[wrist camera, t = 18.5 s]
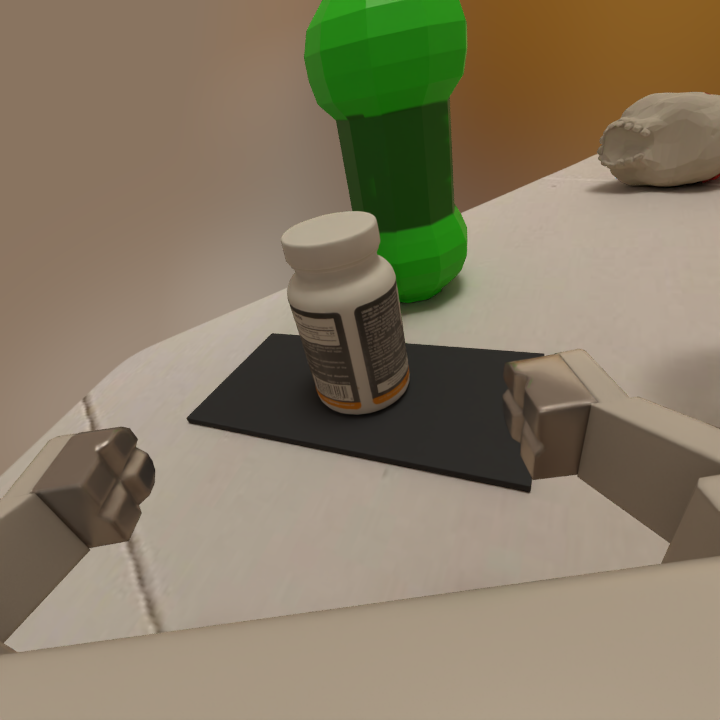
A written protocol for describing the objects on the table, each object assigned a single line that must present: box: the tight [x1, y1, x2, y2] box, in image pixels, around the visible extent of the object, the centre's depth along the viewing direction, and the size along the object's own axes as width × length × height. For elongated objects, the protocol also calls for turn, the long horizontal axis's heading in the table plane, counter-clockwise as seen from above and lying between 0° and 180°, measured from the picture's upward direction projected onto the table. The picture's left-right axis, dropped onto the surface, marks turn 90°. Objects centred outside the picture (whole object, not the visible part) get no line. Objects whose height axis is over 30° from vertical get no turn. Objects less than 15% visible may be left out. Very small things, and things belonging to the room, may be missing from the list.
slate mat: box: [187, 333, 544, 492], centre depth 25 cm, size 20×10×1 cm, turn 67°
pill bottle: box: [281, 211, 410, 415], centre depth 22 cm, size 6×6×10 cm
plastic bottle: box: [304, 0, 467, 303], centre depth 29 cm, size 10×10×25 cm
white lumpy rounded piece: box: [597, 92, 720, 186], centre depth 44 cm, size 9×11×15 cm
